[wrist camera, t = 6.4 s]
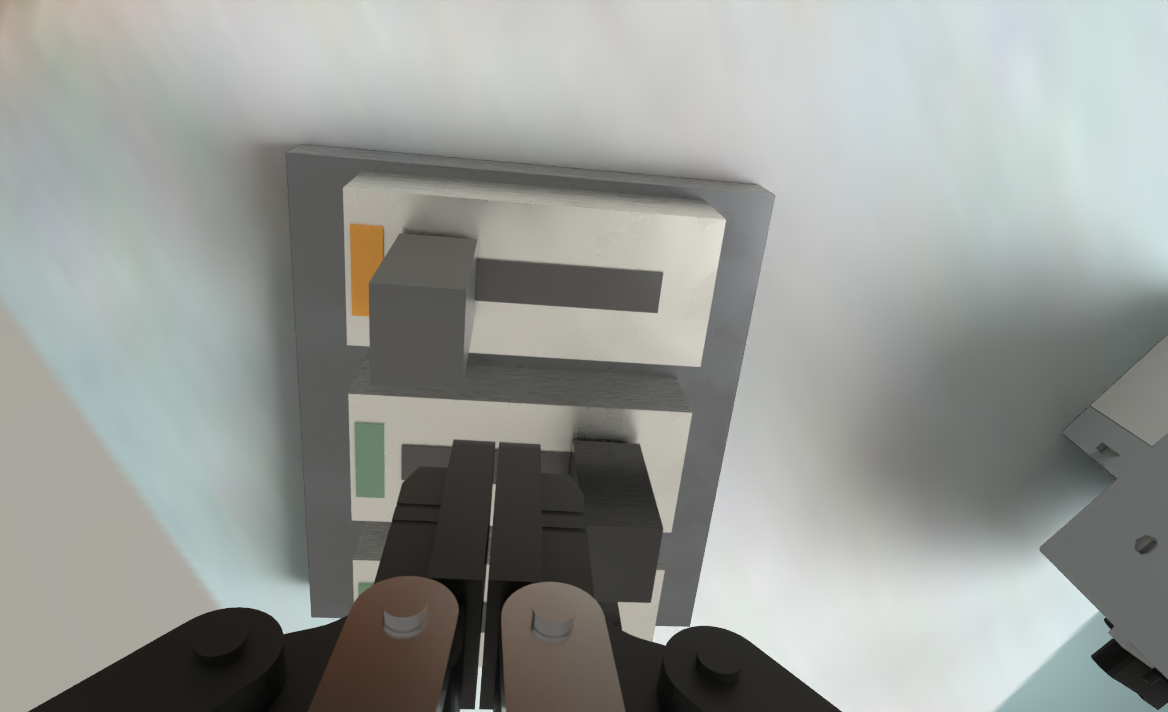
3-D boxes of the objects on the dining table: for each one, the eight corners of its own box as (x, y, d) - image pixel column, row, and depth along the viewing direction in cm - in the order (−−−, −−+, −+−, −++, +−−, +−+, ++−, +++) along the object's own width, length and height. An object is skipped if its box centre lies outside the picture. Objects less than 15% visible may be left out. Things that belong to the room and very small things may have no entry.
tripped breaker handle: (399, 233, 23) (368, 283, 19) (477, 239, 23) (466, 289, 19) (399, 318, 24) (370, 384, 20) (473, 323, 25) (462, 389, 20)
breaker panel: (301, 143, 27) (182, 204, 18) (759, 184, 29) (873, 259, 19) (322, 586, 35) (247, 793, 25) (681, 596, 37) (735, 793, 27)
